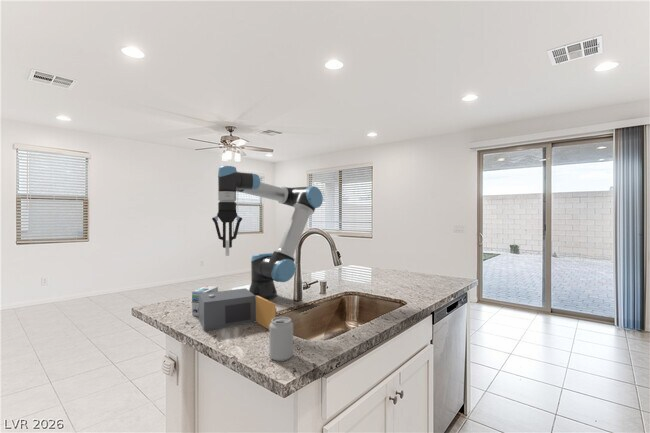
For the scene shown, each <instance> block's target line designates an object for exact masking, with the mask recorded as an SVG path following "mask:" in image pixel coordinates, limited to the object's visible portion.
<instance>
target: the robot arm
mask: <svg viewBox="0 0 650 433" xmlns="http://www.w3.org/2000/svg"><path fill="white" fill-rule="evenodd" d="M217 179H218V182H217V183H218V184H217V186H218V188H217V189H218V191H217V194H218V201H219V202H218V204H217V206H218V210H217V211H218V212H217V214H216V215H215V216H214V217H212V218H211V220H212V221H213V223H214V225H215V230H216V233H217V237H218V240H221V241H222V247H223V248H224V249H225V253H224V254H225V257H226V256H230V248H231V249H232V248H233V240H236V238H237V235H238V231H239V227H240V224H241V222H242V220H243V217H242V216H239V215H238V212H237V202H236V201H237V193H241V194H245V195H252V196H255V197H259V198H265V199H268V200H271V201H273V200H274V201H277V202H278V203H279V204H282V205H286V206H289V207H293V208H294V211H293V212H292V215H291V218H290V220H289V222H288V224H287V227H286V230H285V232H284V233H283V237H282V239H281V241H280V243H279V246H278V247H277V249H275V250H273V252H267V253H266V252H265V253H258V254H257V253H256V254H252V256H251V260H250V263H251V264H250V266H251V270H250V271H251V281H250V282H251V283H250V285H249V289H248V290H249V291H250V292H251V293H252V294H254V295H255V296H256V295H258V296H260V297H262V298H264V299H266V300H272V299H276V298H277V296H278V293H277V289H276V286H275V282H277V283H286V282H289V281H290V280H291V279H292V278H293V277H294V276H295V273H296V264H295V260H296V259H295V257H294V255H295V252H296V251H297V248H298V245H297V243H298V241H299V242H300V240H301V238H300V237H302V235H303V233H304V229H305V228H306V226H307V222H308V219H309V218H310V216H311V215H314V213H315V210H316V209H317V208H320V207H321V206H322V204H323V200H324V197H323V196H324V195H323V192H322V190H321V189H320V188H319V187H317V186H312V185H309V186H298V187H297V186H296V187H287V186H282V187H280V186H276V185H273V184H268V183H264V182H261V177H260V175H258V174H257V173H253V172H251V173H250V172H240V171H237V167H236V166H234V165H233V166H232V165H221V166H219V167H218V173H217ZM219 220H220V222H222V235H221V231H220V227H219V222H218V221H219ZM235 220H236V224H235V228H234V232H233V222H234V221H235ZM227 223H228V239H226V238H227V236H226V235H227ZM299 239H300V240H299ZM298 244H299V243H298ZM296 247H297V248H296Z"/></svg>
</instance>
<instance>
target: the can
mask: <svg viewBox="0 0 650 433" xmlns="http://www.w3.org/2000/svg"><path fill="white" fill-rule="evenodd" d="M268 331H269V334H268V335H269V337H268V338H269V340H268V341H269V342H268V343H269V346H268V348H269V350H268V351H269V354H268V355H269V357H270V358H271V359H272V360H273V361H275V360H276V361H275V362H284V361H283V360H286V361H288V360H289V358H292V357H293V356H294V323H293V321H292V318H290V317H288V316H276V318H273V319H272V322H271V323H270V325H269V329H268ZM287 359H288V360H287Z"/></svg>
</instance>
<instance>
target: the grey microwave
mask: <svg viewBox="0 0 650 433" xmlns="http://www.w3.org/2000/svg"><path fill="white" fill-rule="evenodd" d="M198 321H199V323H200V325H201V327H202V329H203V330H202V331H203V332H208V331H213V330H218V329H223V328H224V329H225V328H230V327H235V326H241V325H246V324H252V323H256V321H255V295H254V294H252V293H251V292H250V291H249V289H247V288H238V289H228V290H220V291H218V292H211V293H202V294H199V316H198Z"/></svg>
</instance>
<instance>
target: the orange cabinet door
mask: <svg viewBox="0 0 650 433" xmlns="http://www.w3.org/2000/svg"><path fill="white" fill-rule="evenodd" d="M276 317H277V307H276V303H275V302H273V301H270V299H268V300H266V299H264V298H262V297H260V296H258V295H256V296H255V323H257V324H259V325H261V326H263V327H264V328H266V329H267V330H269V325H270V323H271V322H272V319H273V318H276Z"/></svg>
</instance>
